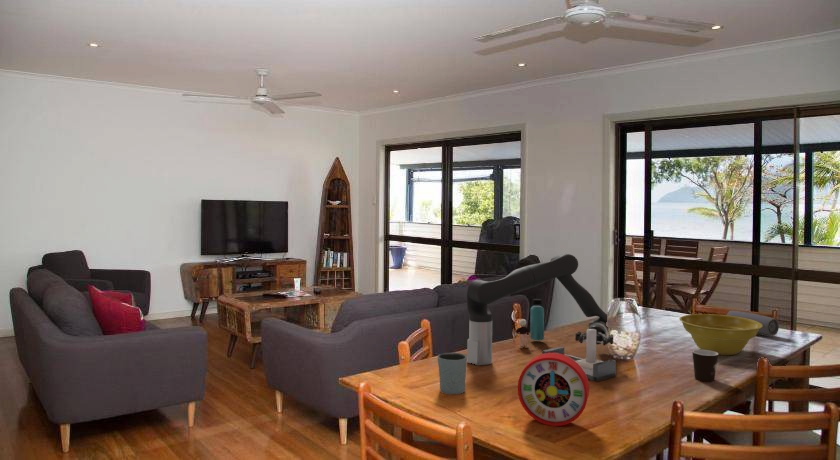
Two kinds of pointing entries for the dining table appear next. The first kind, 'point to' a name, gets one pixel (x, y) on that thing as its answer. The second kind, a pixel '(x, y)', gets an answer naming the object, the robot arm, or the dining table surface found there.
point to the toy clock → (553, 389)
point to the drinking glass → (452, 372)
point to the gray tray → (599, 369)
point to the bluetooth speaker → (768, 323)
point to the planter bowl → (720, 332)
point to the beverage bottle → (537, 321)
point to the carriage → (590, 351)
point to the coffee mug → (704, 365)
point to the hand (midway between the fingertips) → (592, 341)
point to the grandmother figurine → (523, 334)
